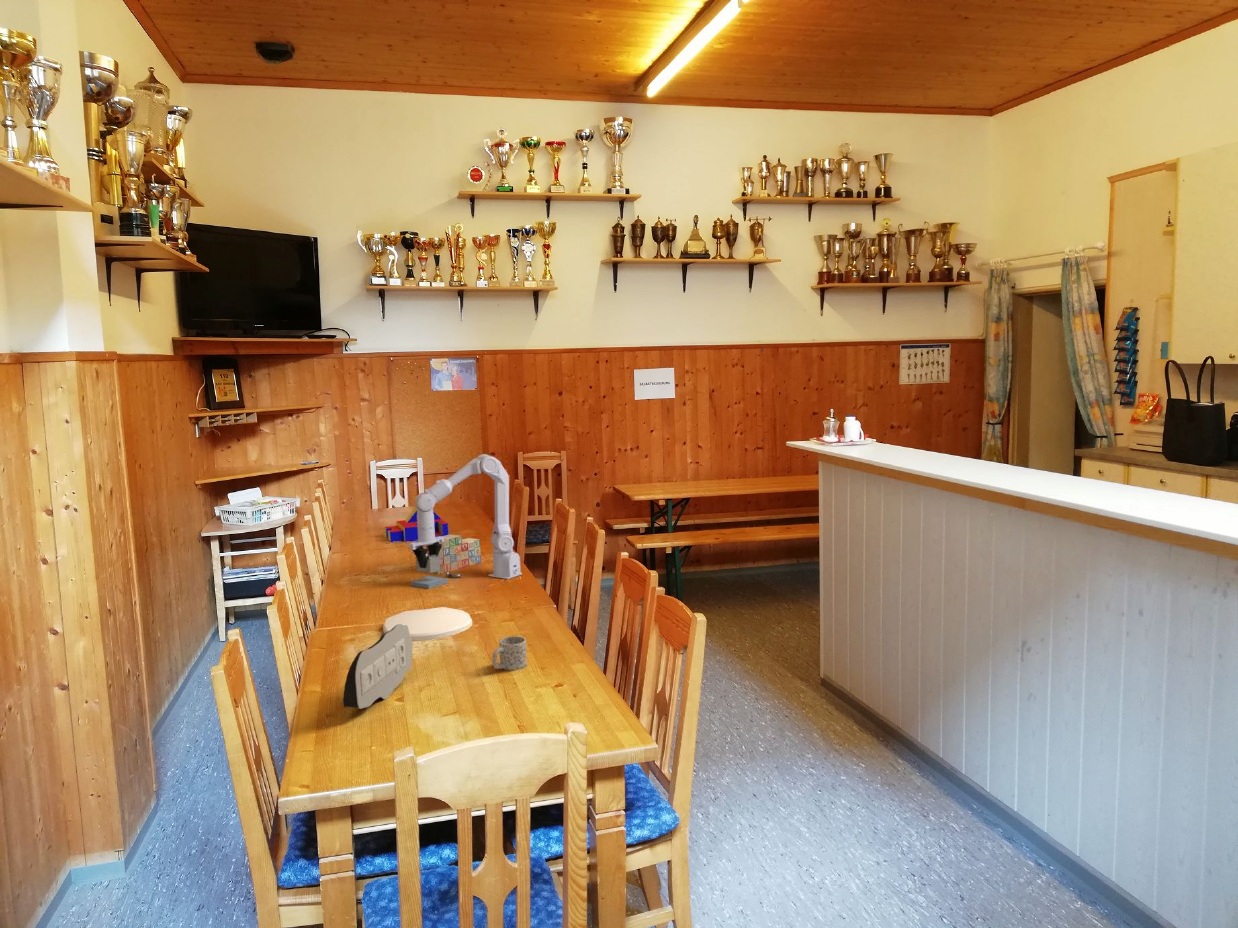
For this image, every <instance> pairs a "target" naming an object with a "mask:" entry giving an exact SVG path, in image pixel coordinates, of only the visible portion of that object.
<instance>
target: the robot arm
mask: <svg viewBox="0 0 1238 928" xmlns="http://www.w3.org/2000/svg"><path fill="white" fill-rule="evenodd" d="M482 473H484V474H486V475H487V476H489V477H490V478H491V480H493V481H494V526H493V527H492V528H493V529H492V530H493V531H492V535H491V537H490V542H491V545H492V546H493V548H492V569H493V572H491V573H489V574H488V575H487V576H488V577H491V578H492V577H493V578H498V579H499V578H500V579H505V580H509V579H513V578H515V577H518V576H520V575H523V573H522V571H521V558H520V555H519V553H517V552H515V551H514V550H513V548H514V546H515V541H514V539H513V537H512V536H513V535H512V530H511V527H510V487H509V486H510V483H509V481H510V479H509V478H510V477H509V474H508V472H507V471H506V469H505V468H504V466H503V465H502V462H501V461H500V460H499V459H497V458H496V457H494V456H491V455H489V454H486V453H483V454H480V455H478V456H477V457H475V458H473V459H472V460H470V461H469V462H468V463H466V464H465V465H463V467H461V468H460V469H459V470H457V471H456V472H455V473H454V474H452V475H451V476H450V477H448V478H447V479H444V478H442V479H440V480H439V479H437V480H435V483H434V484H433V485H431V486H430V487H429V488H425V489H424V490H423V491H424V492H420V493H418V494H419V495H417V497H416V499H415V498H414V506H415V507H416V506H417V507H418V508H417V526H418V540H417V541H412V542H411V543H409V544H408V549H409V550H411V551H412V552H413V555H414V556H415V559H416V558H417V560H418V563H419V566H420V568H425V567H426V553H427V549H426V548H425V547H426V546H427V547H428V551H429V555H436V556H438V554H439V552H440V549H441V548H442V544H439V543H440V542H444V537H442V536H439V537H435V528H434V514H433V511H434V507H435V506H436V504H438V503H439V502H441V501H442V500H443V499H444V498H446V497H447V496H449V495H450V494H452V492H453V488H454V487H455V486H457V485H458V484H459V483H462V482H463V481H464V480H466V479H468V478H469V477H470V476H472V475H480V474H481V475H482Z"/></svg>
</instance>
